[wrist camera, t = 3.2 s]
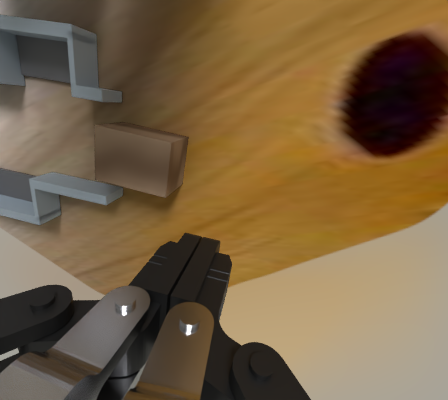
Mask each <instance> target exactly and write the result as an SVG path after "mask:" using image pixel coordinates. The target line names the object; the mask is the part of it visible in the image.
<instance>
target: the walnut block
mask: <svg viewBox="0 0 448 400" xmlns="http://www.w3.org/2000/svg"><path fill="white" fill-rule="evenodd" d="M94 127H95V180H98V181H102V182H106V183H110V184H114V185H118V186H122V187H125V188H129V189H133V190H137V191H141V192H145V193H149V194H152V195H156V196H160V197H164V198H166V197H167V196H169V195H170V194H171V193H172V192H173V191H175V190H176V189H177V188H178V187H179V186H181V185H182V184H183V176H184V168H185V160H186V153H187V145H188V137H186V136H182V135H178V134H173V133H169V132H164V131H160V130H156V129H151V128H147V127H142V126H138V125H134V124H129V123H125V122H120V123H110V124H99V125H94Z"/></svg>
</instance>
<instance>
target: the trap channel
mask: <svg viewBox="0 0 448 400" xmlns="http://www.w3.org/2000/svg"><path fill="white" fill-rule="evenodd" d="M24 75H25V76H31V77H37V78H43V79H49V80H55V81H61V82H67V83H71V93H72V97H77V98H83V99H89V100H94V101H100V102H121V103H122V92H121V91H115V90H109V89H103V88H99V83H98V60H97V37H96V34H94V33H92V32H90V31H87V30H85V29H82V28H80V27H77V26H75V25H72V24H67V23H60V22H52V21H45V20H37V19H30V18H22V17H15V16H7V15H0V84H10V85H21V86H25V80H24ZM59 194H60V195H64V196H69V197H73V198H77V199H82V200H86V201H90V202H94V203H99V204H103V205H108V204H109V203H111V202H113V201H115V200H116V199H118V198H120V197H121V196H123V187H119V186H114V185H110V184H105V183H100V182H96V181H91V180H87V179H82V178H78V177H73V176H69V175H64V174H59V173H55V172H51V173H47V174H44V175H40V176H33V175H29V174H24V173H20V172H15V171H11V170H6V169H2V168H0V215H2V216H6V217H10V218H14V219H17V220H21V221H25V222H29V223H33V224H37V225H42V224H44V223H46V222H48V221H50V220H51V219H53V218H55V217H57V216H59V215H61V209H60V200H59Z"/></svg>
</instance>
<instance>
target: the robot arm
mask: <svg viewBox="0 0 448 400" xmlns="http://www.w3.org/2000/svg"><path fill="white" fill-rule="evenodd" d="M219 248H220V241H218V240H214V239H210V238H206V237H203V238H202V237H201V236H197V235H193V234H189V233H184V235H183V236H182V238H181V239H180V240H179V242H178V243H176V242H172V241H170V242H168V243H166V244H164V245H162V246H160V248H159V249H158V250H157V251H156V253H155V254H154V256H152V257H151V259H150V260H149V262H147V263H146V265H145V266H144V267H143V268H142V270H141V271H140V272H139V273H138V274H137V276H136V277H135V278H134V279H133V280H132V282H131V283H130V284H129V285H128V286H123V287H119V288H116V289H114V290H112V291H110V292H109V293H107V294H106V295H105V296H104V297H103V298H102V299H101V300H77V301H76V300H75V301H74V300H73V298H72V292H71V291H70V290H69V289H68V288H67V287H64V286H61V285H47V286H42V287H38V288H35V289H32V290H29V291H25V292H22V293H19V294H15V295H12V296H9V297H6V298H2V299H0V355H2V354H4V353H6V352H9V351H11V350H13V349H16V348H18V350H19V353H18V354H16V355H13V356H11V357H9V358H6V359H4V360H2V361H0V400H311V399H310V398H309V396H308V395H307V393H306V392H305V390H304V389H303V388H302V386H301V385H300V383H299V382H298V380H297V379H296V377H295V376H294V375H293V373H292V372H291V370H290V369H289V367H288V366H287V364H286V363H285V361H284V360H283V359H282V357H281V356H280V355H279V354H278V353H277V352H276V351H275V350H274V349H273V348H271V347H269V346H268V345H265V344H262V343H258V342H251V343H247V344H244V345H242V346H241V345H240V344H238V343H237V342H235V341H234V340H232V339H231V338H230V337H228V336H227V335H226V334H225V332H224V331H223V330H222V328H221V326H220V323H219V319H220V316H221V311H222V308H223V304H224V300H225V296H226V293H227V287H228V282H229V277H230V272H231V267H232V262H231V259H230V256H229V255H225V254H221V253H219Z"/></svg>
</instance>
